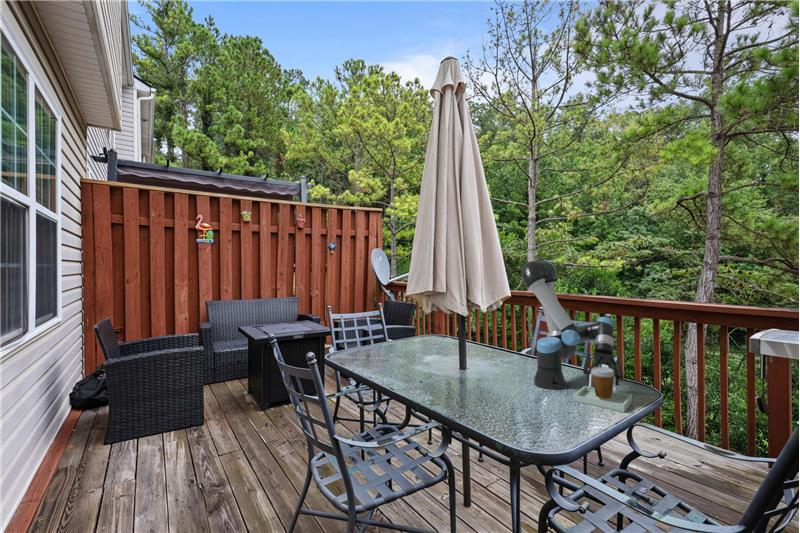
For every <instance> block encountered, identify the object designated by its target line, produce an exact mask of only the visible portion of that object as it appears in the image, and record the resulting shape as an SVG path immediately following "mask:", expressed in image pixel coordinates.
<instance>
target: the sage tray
mask: <svg viewBox="0 0 800 533" xmlns="http://www.w3.org/2000/svg"><path fill="white" fill-rule="evenodd" d="M573 402H574V403H579V404H582V405H589V406H590V407H591V406H593V407H596V408H601V409H606V410H609V411H610V410H611V411H615V412H621V413H625V412H626V411H627V409H628V408H629V407H630V405H631V404H632V402H633V394H631V393H626V392H625V393H624V392H621V391H620V392H619V391H616V393H614V392H613V390H612V397H611V398H608V399H604V398H599V397H597V396H596V394H595V388H594V386H591V390H589V385H588V386H586V385H584V386H582V387H581V388H580V389H579V390H578V391H577V392H575V393H574V394H573Z"/></svg>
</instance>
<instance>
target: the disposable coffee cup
mask: <svg viewBox="0 0 800 533" xmlns="http://www.w3.org/2000/svg"><path fill="white" fill-rule="evenodd" d="M591 374H592V383H593V388H595V394H596V396H597V397H599V398H604V399H608V398H611V397H612V391H613V384H614V377H615V376H614V375H615V373H614V371H613V369H610V367H607V366H606V367H605V366H597V367H594V368H592V370H591Z"/></svg>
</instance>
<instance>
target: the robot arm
mask: <svg viewBox="0 0 800 533" xmlns="http://www.w3.org/2000/svg"><path fill="white" fill-rule="evenodd" d="M520 274H521V278H522V280H523V282H524V284H525V286H526V288H527V289H528V290H530V291H532V293H533V294H534V295H535V297H536V298H537V299H538V301H539V303H540V304H541V306H542V310H543V314H544V317H545V323H546V325H547V329H548V334H547V336H546V337H541V338H539V339H538V340H537V341H536V360H537V361H536V362H537V363H536V364H537V365H536V366H537V369H536V373H535V375H534V378H533V385H534V386H537V387H539V388H542V389H546V390H547V389H548V390H560V389H565V388H566V387H567V385H566V384H567V381H566V378H565V375H564V373H563V366H562V364H563V363H562V361H566V360H569V359H571V358H573V357H574V356H575V354H576V353H577V351H578V345H579V344H581V343H584V342H587V341H592V340H594V341H595V343H594V345H595V346H594V353H593V354H590V353H587V355H586V356H587V359H586V361H585V363H584V366H583V369H582V374H583V375H586V382H587V383H588V387H589V390H591V387H592V385H593V384H592V383H593V377H592V374H591V370H592V368H594V367H599V366H600V365H605V366H608V368H610V369H613V371H614V373H615V375H614V377H613V387H612V391H613V392H614V393H616V392H617V389H616V387H617V386H619V383H620V380H623V379H624V373H623V368H622V365H621V357H620V356H617V357H616V356H614V330H615V327H614V320H613V319H612V318H610V317H608V316H600V317H598V318H597V319H596V322H595V323H591V324H586V325H585V324H584V325H580V326H576V324H575V323H574V322H573V320H572V319H571V317H570V315H569V314H568V313H567V312H566V310H565V309H564V308H563V306H562V305H561V303H560V302H559V300H558V297H557V292H556V290H555V284H556V282H557V281H556V279H555V278H556V276H557V268H556V266H555V265H554V264H553V263H552V262H551V261H547V260H531V261H527V262H526V263H525V264H524V265H523V266H522V268H521V273H520ZM593 359H594V362H593V363H592V365H591V361H592V360H593ZM613 361H614V362H615V363H616V366H617V369H618V372H617V370H616V369H615V367H614V365H613V364H612V362H613ZM590 365H591V366H590ZM618 373H619V374H618Z"/></svg>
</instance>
